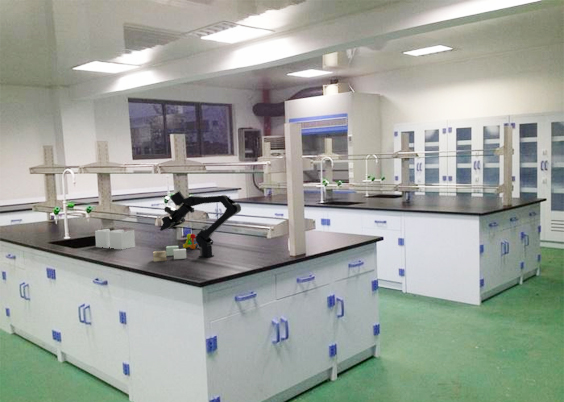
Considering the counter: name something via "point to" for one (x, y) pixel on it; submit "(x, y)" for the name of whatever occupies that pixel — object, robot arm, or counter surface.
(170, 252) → the sage block
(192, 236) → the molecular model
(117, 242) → the storage container
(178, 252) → the offwhite block
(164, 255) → the maple block
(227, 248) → the counter surface
